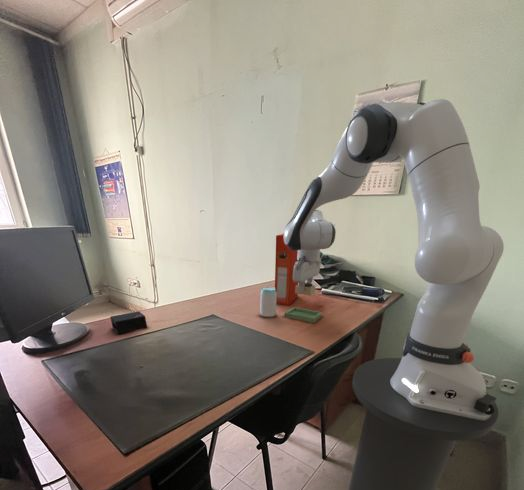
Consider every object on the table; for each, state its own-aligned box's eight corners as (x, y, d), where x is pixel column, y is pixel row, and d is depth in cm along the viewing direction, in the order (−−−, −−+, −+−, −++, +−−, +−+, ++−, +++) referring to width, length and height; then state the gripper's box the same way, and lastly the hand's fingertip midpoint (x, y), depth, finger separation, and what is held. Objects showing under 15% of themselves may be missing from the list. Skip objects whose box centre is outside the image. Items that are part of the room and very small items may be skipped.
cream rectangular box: (314, 293, 121) (315, 283, 119) (310, 295, 117) (311, 286, 115) (299, 290, 124) (300, 281, 122) (294, 293, 120) (295, 283, 119)
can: (277, 317, 124) (278, 290, 118) (261, 318, 123) (261, 290, 118) (274, 312, 130) (275, 286, 125) (259, 312, 129) (259, 286, 124)
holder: (321, 316, 126) (322, 312, 125) (313, 323, 119) (314, 318, 118) (293, 311, 132) (294, 307, 131) (284, 316, 125) (284, 312, 124)
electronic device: (112, 328, 110) (110, 316, 107) (141, 322, 116) (138, 311, 113) (118, 334, 104) (115, 322, 102) (147, 328, 110) (145, 316, 108)
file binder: (273, 303, 142) (276, 235, 128) (283, 295, 157) (286, 232, 143) (289, 305, 140) (293, 235, 126) (297, 296, 154) (301, 233, 140)
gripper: (305, 259, 104) (302, 295, 111) (324, 253, 120) (320, 285, 126) (289, 257, 107) (287, 293, 113) (310, 251, 123) (307, 283, 129)
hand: (305, 289), depth 120 cm, fingers closed on cream rectangular box, 5 cm apart
